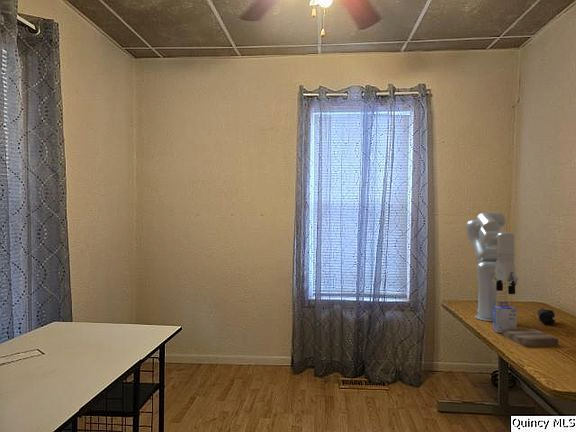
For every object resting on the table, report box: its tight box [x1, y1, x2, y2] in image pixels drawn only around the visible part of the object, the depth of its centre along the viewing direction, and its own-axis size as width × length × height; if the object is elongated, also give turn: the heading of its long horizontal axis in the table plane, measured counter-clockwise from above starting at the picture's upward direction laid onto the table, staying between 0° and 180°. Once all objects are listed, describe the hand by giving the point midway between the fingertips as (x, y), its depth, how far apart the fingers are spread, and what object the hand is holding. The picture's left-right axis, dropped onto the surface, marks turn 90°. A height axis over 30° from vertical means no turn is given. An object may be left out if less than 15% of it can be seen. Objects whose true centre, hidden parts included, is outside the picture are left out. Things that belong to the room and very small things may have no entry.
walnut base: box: [501, 328, 559, 347], centre depth 194 cm, size 16×16×3 cm
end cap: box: [537, 307, 556, 326], centre depth 225 cm, size 10×7×7 cm
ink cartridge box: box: [492, 301, 518, 334], centre depth 207 cm, size 10×6×14 cm, turn 78°
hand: (505, 292), depth 207 cm, fingers open, 9 cm apart
